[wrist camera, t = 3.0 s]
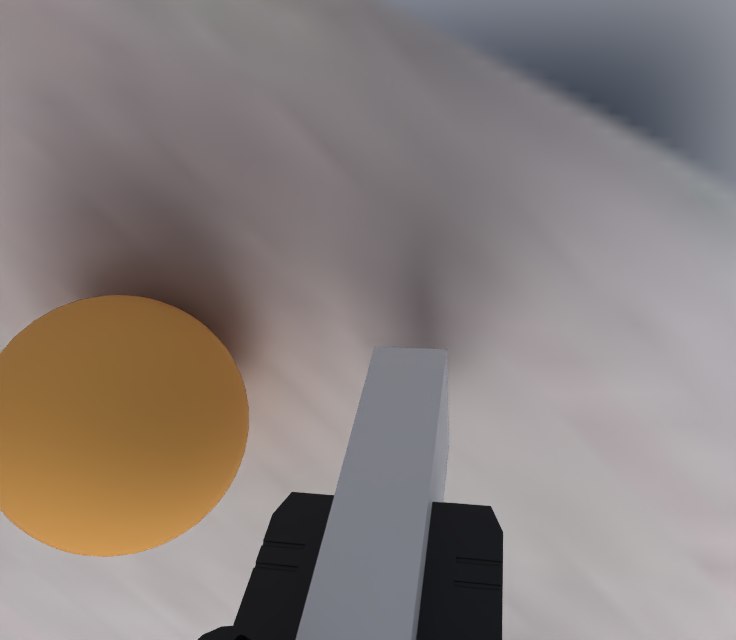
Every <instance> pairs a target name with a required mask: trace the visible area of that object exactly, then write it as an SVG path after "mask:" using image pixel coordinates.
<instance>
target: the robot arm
mask: <svg viewBox="0 0 736 640" xmlns="http://www.w3.org/2000/svg"><path fill="white" fill-rule="evenodd" d="M448 450H449V424H448V376H447V349H427V348H400V347H374V351H373V354H372V358H371V362H370V365H369V369H368V373H367V377H366V380H365V384H364V388H363V391H362V395H361V399H360V402H359V406H358V410H357V414H356V417H355V421H354V425H353V428H352V432H351V436H350V440H349V443H348V447H347V451H346V454H345V458H344V462H343V466H342V469H341V473H340V477H339V480H338V484H337V488H336V491H335V495H323V494H310V493H298V492H291V494H290V495H289V496H288V497H287V498H286V499H285V501H284V502H283V503H282V504H281V505H280V506H279V507H278V509H277V510H276V511H275V512H274V513H273V515H272V517H271V520H270V523H269V526H268V529H267V532H266V534H265V537H264V540H263V546H261V548H260V551H259V554H258V557H257V560H256V566H255V568H253V571H252V574H251V577H250V580H249V582H248V585H247V588H246V591H245V594H244V596H243V599H242V602H241V605H240V608H239V611H238V613H237V616H236V619H235V622H234V625H233V626H224V627H220V628H217V629H215V630H213V631H211V632H208V633H206V634H204V635H202V636H201V637H200V638H199V639H198V640H502V586H503V531H502V529H501V527H500V525H499V523H498V521H497V518H496V516H495V514H494V512H493V510H492V508H491V506H482V505H469V504H457V503H444V502H443V499H444V490H445V480H446V470H447V460H448Z"/></svg>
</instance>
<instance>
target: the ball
mask: <svg viewBox="0 0 736 640" xmlns="http://www.w3.org/2000/svg"><path fill="white" fill-rule="evenodd" d="M248 430H249V407H248V401H247V395H246V390H245V386H244V383H243V380H242V377H241V374H240V372H239V370H238V368H237V366H236V364H235V362H234V360H233V358H232V356H231V355H230V353H229V351H228V350H227V348H226V347H225V346H224V345H223V343H222V342H221V341H220V340H219V339H218V338H217V337H216V336H215V335H214V334H213V333H212V332H211V331H210V330H209V329H208V328H207V327H206V326H205V325H204V324H202V323H201V322H200V321H199V320H197V319H196V318H194V317H193V316H191V315H190V314H188V313H186V312H184V311H182V310H180V309H178V308H176V307H174V306H171V305H169V304H166V303H164V302H160V301H157V300H154V299H150V298H145V297H140V296H129V295H105V296H99V297H93V298H87V299H82V300H78V301H75V302H72V303H69V304H67V305H64V306H61V307H59V308H56V309H54V310H53V311H51V312H49V313H47V314H45V315H43V316H42V317H40V318H38V319H37V320H35V321H33V322H32V323H31V324H30V325H28V326H27V327H26V328H25V329H24V330H22V331H21V332H20V333H19V334H18V335H16V336H15V337H14V338H13V339H12V340H11V341H10V343H9V344H8V345H7V346H6V347H5V348H4V350H3V351H2V352H1V353H0V510H1V511H2V512H3V513H4V514H5V516H6V517H7V518H8V519H9V520H10V521H11V522H12V523H14V524H15V525H16V526H17V527H18V528H20V529H21V530H22V531H24V532H25V533H27V534H28V535H30V536H31V537H33V538H35V539H37V540H38V541H40V542H42V543H44V544H47V545H49V546H51V547H54V548H56V549H59V550H62V551H65V552H69V553H74V554H79V555H87V556H100V557H108V556H119V555H127V554H134V553H138V552H141V551H145V550H148V549H151V548H154V547H157V546H159V545H162V544H164V543H166V542H168V541H170V540H172V539H174V538H176V537H178V536H180V535H181V534H183V533H184V532H186V531H187V530H189V529H190V528H191V527H193V526H194V525H196V524H197V523H198V522H199V521H200V520H201V519H202V518H204V517H205V516H206V515H207V514H208V513H209V512H210V511H211V510H212V509H213V508H214V507H215V506H216V505H217V503H218V502H219V501H220V499H221V498H222V497H223V495H224V494H225V492H226V491H227V490H228V488H229V487H230V485H231V483H232V481H233V479H234V477H235V476H236V474H237V471H238V469H239V466H240V464H241V461H242V458H243V455H244V452H245V447H246V442H247V436H248Z"/></svg>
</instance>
